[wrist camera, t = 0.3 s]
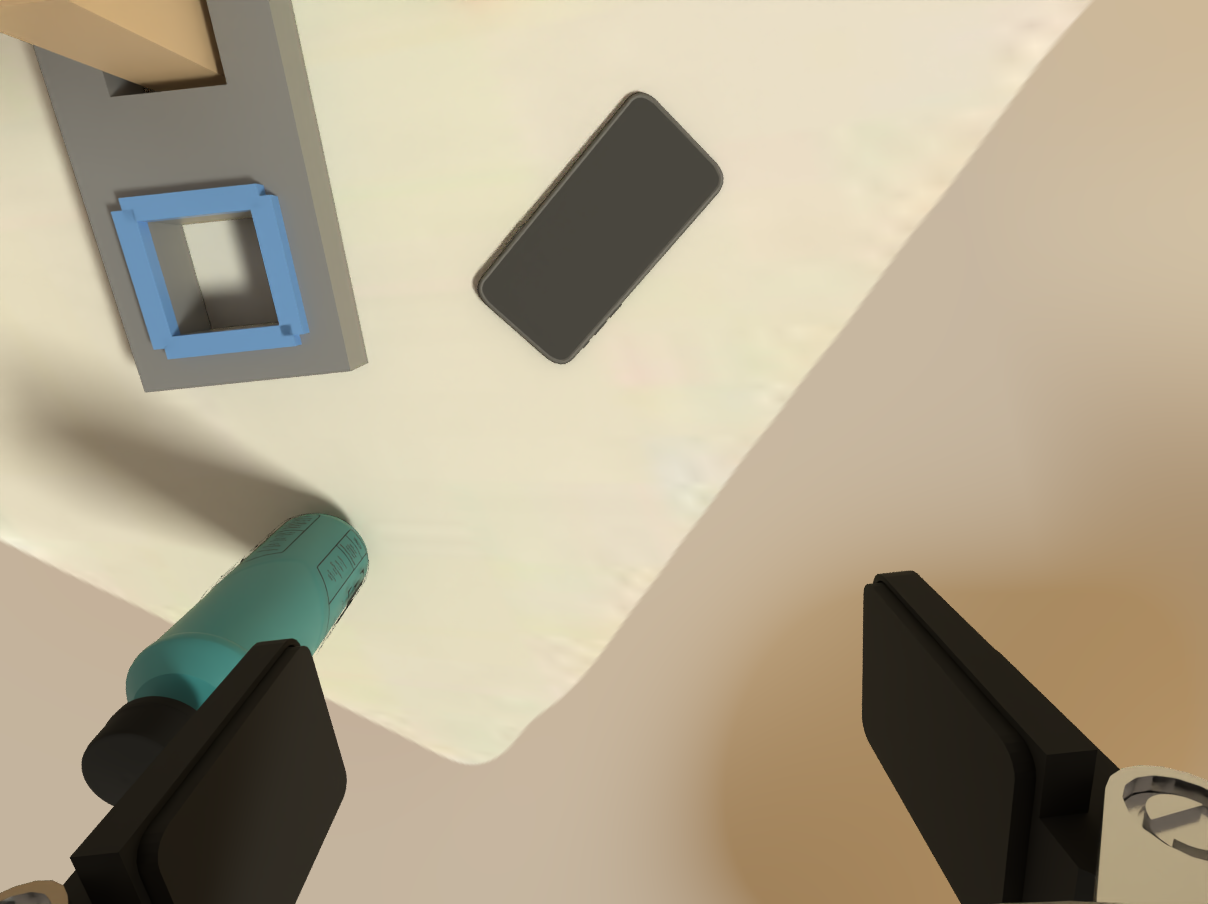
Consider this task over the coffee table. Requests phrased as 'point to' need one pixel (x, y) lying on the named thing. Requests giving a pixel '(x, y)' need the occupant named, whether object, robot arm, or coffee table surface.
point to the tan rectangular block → (124, 38)
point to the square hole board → (213, 204)
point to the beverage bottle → (228, 640)
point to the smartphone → (601, 229)
